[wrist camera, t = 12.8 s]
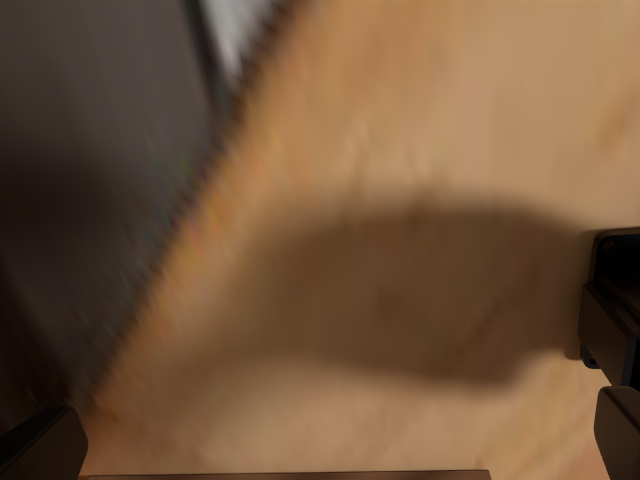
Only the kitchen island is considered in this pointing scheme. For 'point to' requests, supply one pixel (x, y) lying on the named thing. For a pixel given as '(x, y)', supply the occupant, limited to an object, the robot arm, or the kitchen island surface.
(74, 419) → the robot arm
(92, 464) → the kitchen island surface
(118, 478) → the double compartment tray
